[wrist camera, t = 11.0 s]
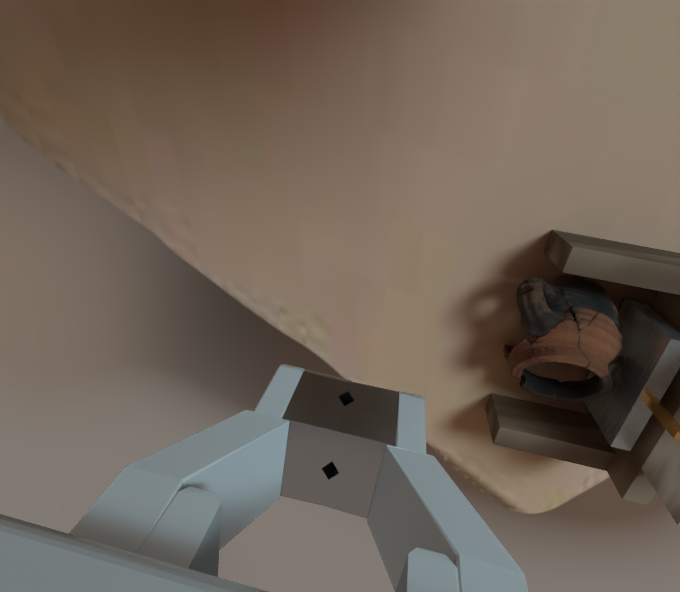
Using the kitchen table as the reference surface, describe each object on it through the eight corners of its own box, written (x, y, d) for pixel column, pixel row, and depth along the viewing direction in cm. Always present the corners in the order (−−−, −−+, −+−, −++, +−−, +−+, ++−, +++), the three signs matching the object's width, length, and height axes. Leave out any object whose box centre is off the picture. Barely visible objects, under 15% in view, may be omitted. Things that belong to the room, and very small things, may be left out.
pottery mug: (639, 317, 36) (650, 402, 32) (535, 339, 43) (531, 411, 38) (572, 230, 32) (574, 315, 27) (467, 270, 38) (454, 343, 34)
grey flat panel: (625, 299, 35) (708, 370, 25) (643, 302, 35) (734, 376, 25) (579, 393, 39) (634, 487, 29) (595, 396, 39) (656, 492, 29)
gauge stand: (552, 229, 34) (623, 287, 22) (705, 258, 33) (865, 334, 21) (485, 408, 42) (511, 521, 30) (606, 436, 41) (683, 565, 29)
